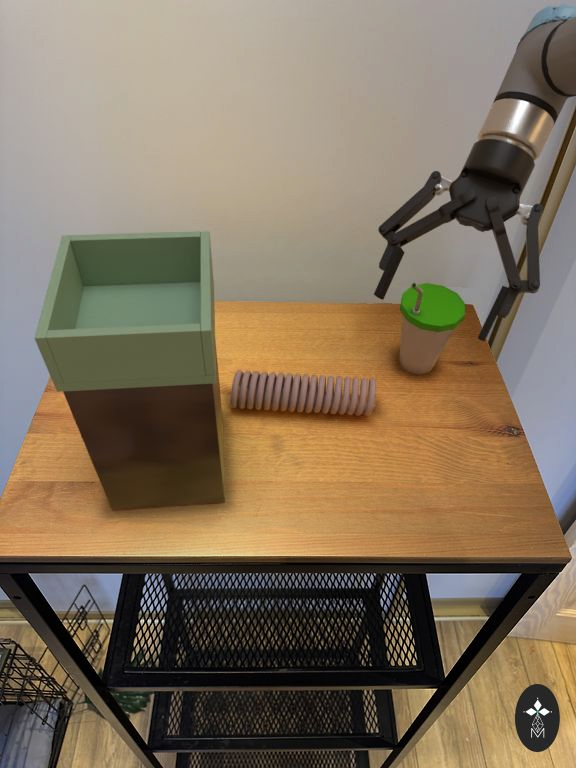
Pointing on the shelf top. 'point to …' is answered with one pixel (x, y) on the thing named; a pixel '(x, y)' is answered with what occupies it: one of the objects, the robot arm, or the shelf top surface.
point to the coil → (303, 393)
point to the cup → (427, 325)
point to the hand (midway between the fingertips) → (428, 318)
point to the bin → (130, 312)
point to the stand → (154, 443)
